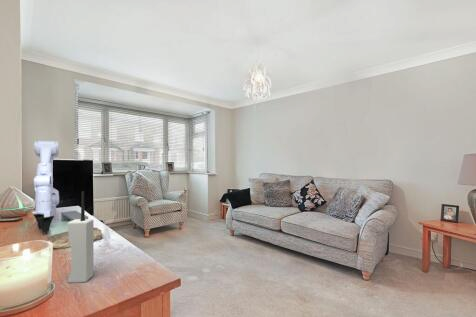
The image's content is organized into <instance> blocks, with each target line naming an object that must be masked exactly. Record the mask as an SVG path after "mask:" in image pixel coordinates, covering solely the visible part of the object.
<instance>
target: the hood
mask: <svg viewBox="0 0 476 317" xmlns="http://www.w3.org/2000/svg"><path fill="white" fill-rule="evenodd" d="M60 219H61V221H60V222H63V221H69V220H72V221H73V220H75V219H81V212H79V211H77V210H69V211H63V212H61V218H60ZM85 219H89V216H87V215H86V214H85Z"/></svg>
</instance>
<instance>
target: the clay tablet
mask: <svg viewBox="0 0 476 317" xmlns="http://www.w3.org/2000/svg"><path fill="white" fill-rule="evenodd" d="M102 238H103V233H102V229H99V227H93V242H96V241H99V240H101V239H102ZM43 240H45V241H50V242H52V243H53V249H52V250H54V249H57V250H59V249H68V248H71V243H70V241H69V234H68V232H63V233H59V234H55V235H52V236H50V235H49V236H47V237H46V238H44V239H43Z"/></svg>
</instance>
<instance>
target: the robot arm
mask: <svg viewBox="0 0 476 317" xmlns="http://www.w3.org/2000/svg"><path fill="white" fill-rule="evenodd" d="M33 143H34V144H33V145H34V146H33V150H34V153H35V155H36V157H38V158H39V159H40V161H39V163H38V164H36V173H35V176H34V178H33V187H34V194H35V196H34V206H35V210H34V211H32V212H31V214H33V216H34V218H35V221H36V222H35V223H36V225H37V228H38V230H41V232H42V234H44V233H47V232H49V228H50V224H51V223H57V222H59V221H58V220H57V206H58V205H59V204H60V195H59V194H60V192H59V190H57V189H56V188H54V186H53V185H54V184H53V182H54V178H53V177H54V176H53V168H54V166H53V163H54V162H53V161H54V159H55V158H56V157H59V150H60V143H59V141H58V140H37V139H35V140H34V142H33Z"/></svg>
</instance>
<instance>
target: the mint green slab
mask: <svg viewBox="0 0 476 317" xmlns="http://www.w3.org/2000/svg"><path fill="white" fill-rule="evenodd" d="M70 221H72V220H69V221H63V222H61V221H58V222H57V223H51V224H50V228H49V232H46V233H47V234H48V235H49V237H50V236H52V235H55V234H59V233H63V232H68V222H70Z"/></svg>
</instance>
